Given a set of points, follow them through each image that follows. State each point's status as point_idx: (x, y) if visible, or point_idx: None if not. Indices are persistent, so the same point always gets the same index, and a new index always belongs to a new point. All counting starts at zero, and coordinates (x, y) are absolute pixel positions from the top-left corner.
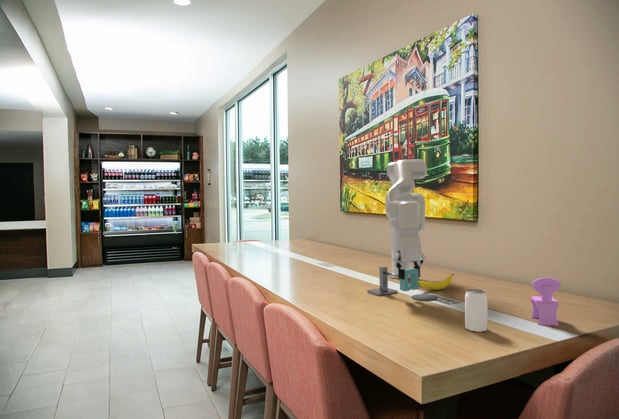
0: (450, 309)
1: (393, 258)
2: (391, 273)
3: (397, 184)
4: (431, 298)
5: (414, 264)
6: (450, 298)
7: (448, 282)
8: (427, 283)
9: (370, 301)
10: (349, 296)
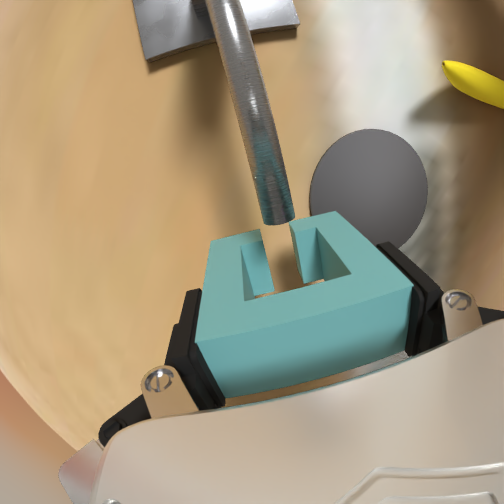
0: (338, 373)
1: (73, 494)
2: (222, 28)
3: None
4: (385, 237)
5: (441, 319)
6: (449, 245)
7: None
8: (476, 91)
9: (70, 175)
10: (24, 60)
